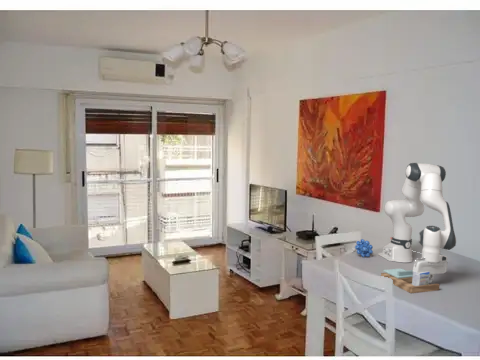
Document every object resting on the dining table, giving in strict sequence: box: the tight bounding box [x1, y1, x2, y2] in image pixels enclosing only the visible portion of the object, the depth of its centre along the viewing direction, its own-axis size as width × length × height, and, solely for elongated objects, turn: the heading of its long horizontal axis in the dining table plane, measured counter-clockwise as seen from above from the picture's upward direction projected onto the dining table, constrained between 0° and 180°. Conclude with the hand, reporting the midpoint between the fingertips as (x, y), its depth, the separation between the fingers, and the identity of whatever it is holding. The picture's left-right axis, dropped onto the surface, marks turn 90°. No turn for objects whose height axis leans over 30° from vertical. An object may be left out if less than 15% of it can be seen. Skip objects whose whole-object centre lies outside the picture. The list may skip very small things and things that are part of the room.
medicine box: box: [411, 272, 430, 286], centre depth 232 cm, size 8×4×9 cm, turn 119°
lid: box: [383, 268, 413, 278], centre depth 244 cm, size 12×12×3 cm
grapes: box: [354, 238, 374, 258], centre depth 286 cm, size 12×7×12 cm, turn 86°
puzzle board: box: [380, 272, 440, 294], centre depth 237 cm, size 24×18×3 cm
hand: (428, 282), depth 235 cm, fingers closed
